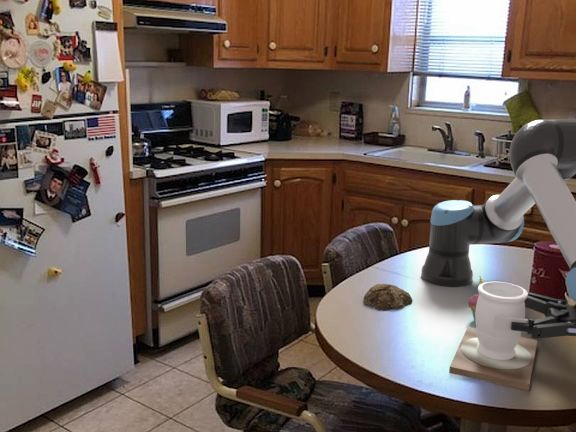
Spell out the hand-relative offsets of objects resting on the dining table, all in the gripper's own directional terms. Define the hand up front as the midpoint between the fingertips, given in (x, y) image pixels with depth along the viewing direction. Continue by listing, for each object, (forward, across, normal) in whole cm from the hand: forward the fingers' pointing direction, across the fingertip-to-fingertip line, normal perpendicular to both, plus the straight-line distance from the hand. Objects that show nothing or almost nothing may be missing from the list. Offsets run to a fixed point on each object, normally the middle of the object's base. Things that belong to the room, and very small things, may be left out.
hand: (491, 309), depth 136 cm
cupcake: (-1, +21, -12) cm, 24 cm away
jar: (-2, 0, -10) cm, 11 cm away
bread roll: (+25, +27, -12) cm, 39 cm away
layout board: (-2, 0, -12) cm, 12 cm away
